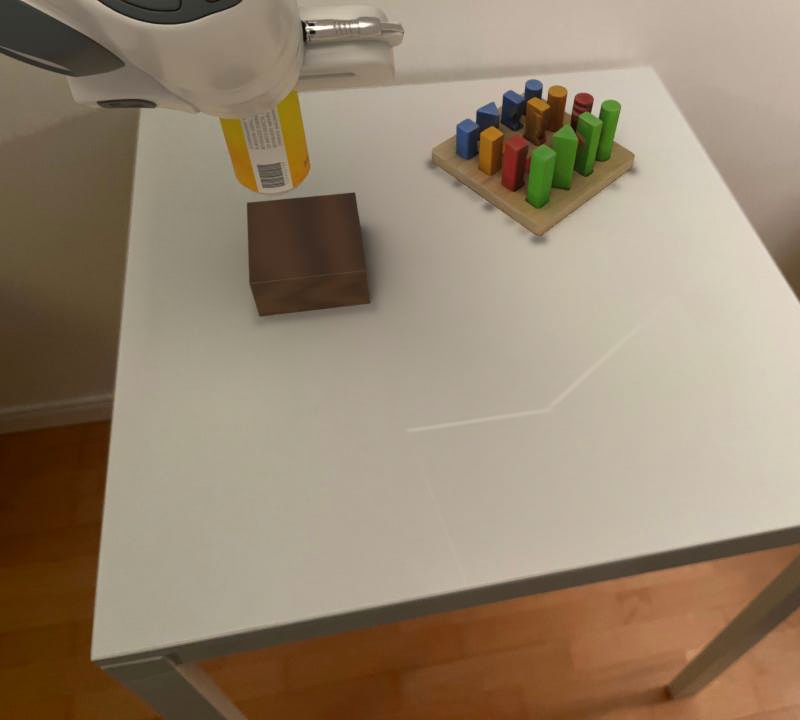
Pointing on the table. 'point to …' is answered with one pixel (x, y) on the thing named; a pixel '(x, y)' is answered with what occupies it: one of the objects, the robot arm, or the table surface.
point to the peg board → (537, 154)
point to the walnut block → (306, 254)
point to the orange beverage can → (269, 148)
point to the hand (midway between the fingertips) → (253, 82)
